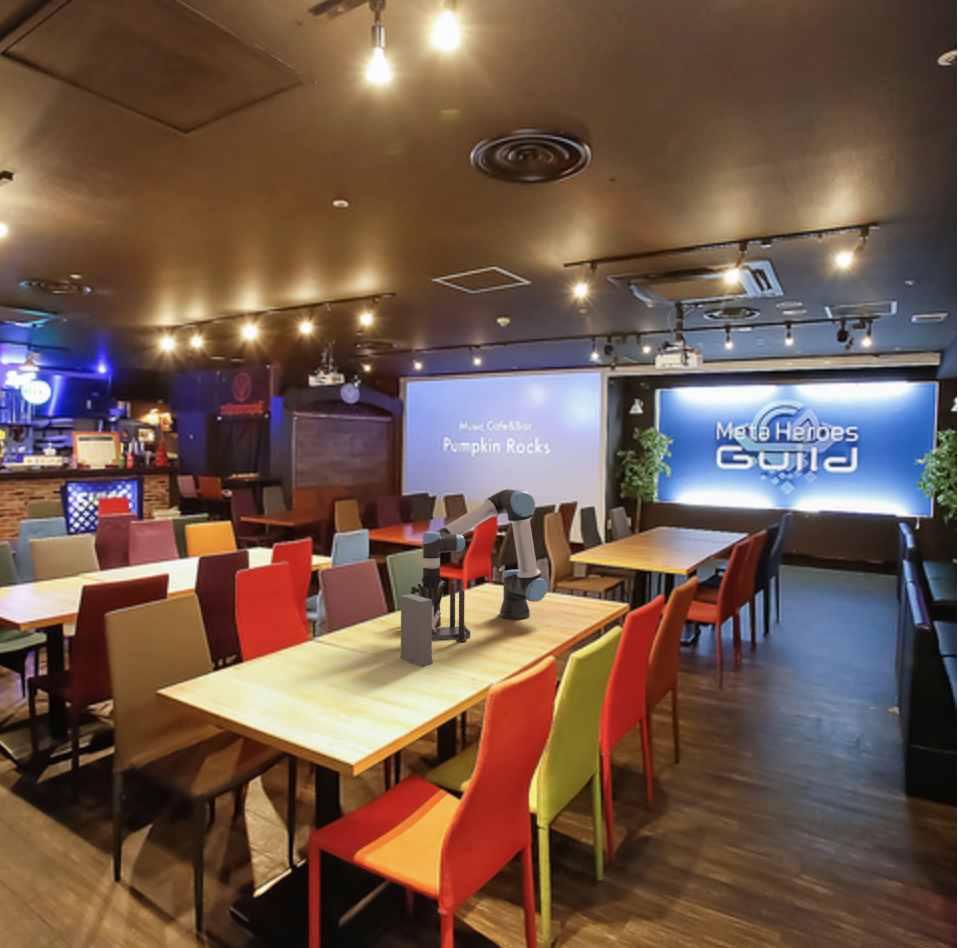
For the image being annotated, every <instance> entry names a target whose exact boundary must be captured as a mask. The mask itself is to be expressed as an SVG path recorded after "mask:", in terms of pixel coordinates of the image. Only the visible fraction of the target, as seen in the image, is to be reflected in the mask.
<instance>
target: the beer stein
mask: <svg viewBox="0 0 958 948" xmlns="http://www.w3.org/2000/svg"><path fill="white" fill-rule="evenodd" d="M440 586H441V585H440V583H439V585H438V586H437V590H436V601H437V598H438V593H439V589H440ZM422 588H423V591H424V595H425V598H427V587H426V586H425V585H424V583H423V587H422ZM410 589H411V591H410V593H409V594H414V595H416V593H418V594H419V595H418V596H420V597H422V596H421V592H420V589H419V587H416V586H411V587H410ZM431 600H432V605H433V589H432V588H431ZM437 610H438V611H440V612H441V603H440V604H437V605H436V612H437ZM435 615H436V613H434V617H435ZM441 619H442V618H441V616H440V617H439V619H438V621H437V623H436V626H435V628H440V627H441V625H442V623H441V622H442V621H441ZM432 622H433V621H432Z"/></svg>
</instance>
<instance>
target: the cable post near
mask: <svg viewBox="0 0 958 948" xmlns="http://www.w3.org/2000/svg"><path fill="white" fill-rule="evenodd" d="M465 592H466V591H465V590H463V589H460V590H458V626H459V638H457V639H455V640H456V641H455V642H457V643H460V644H463V643H466V642H467V638H464V625H465Z"/></svg>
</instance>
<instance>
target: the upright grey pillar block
mask: <svg viewBox="0 0 958 948" xmlns="http://www.w3.org/2000/svg"><path fill="white" fill-rule="evenodd" d="M432 642H433V640H432V600H430V599H427V598H424V597H420V596H419V595H417V594H410V593H409V594H402V595H400V655H399V656H400V658H401V659H404V660H406V661H408V662H410V663H413V664H415V665H417V666H419V667H423V666H426V665H427V666H428V665H431V664H434V660H433V650H432V647H433V644H432Z"/></svg>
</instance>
